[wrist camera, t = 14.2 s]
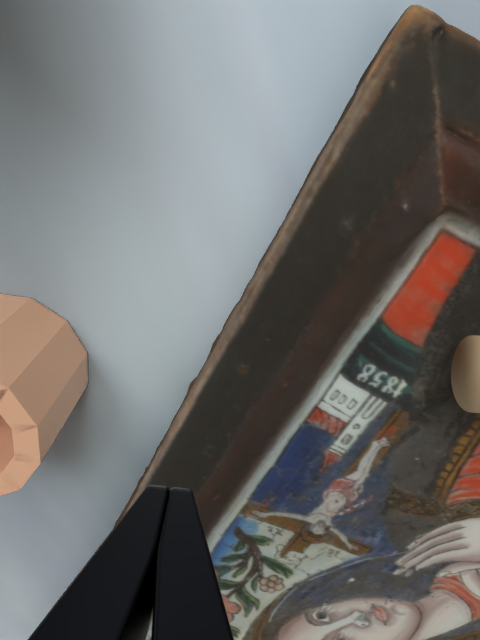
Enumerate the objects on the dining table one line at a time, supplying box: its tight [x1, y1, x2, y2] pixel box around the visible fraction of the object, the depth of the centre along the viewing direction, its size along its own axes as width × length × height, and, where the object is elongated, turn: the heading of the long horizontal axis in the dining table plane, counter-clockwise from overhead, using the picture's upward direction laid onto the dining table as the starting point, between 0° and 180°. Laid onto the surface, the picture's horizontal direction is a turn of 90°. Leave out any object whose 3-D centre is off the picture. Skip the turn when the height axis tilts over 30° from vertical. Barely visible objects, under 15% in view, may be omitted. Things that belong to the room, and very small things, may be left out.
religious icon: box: [113, 5, 480, 640], centre depth 27 cm, size 40×45×3 cm
